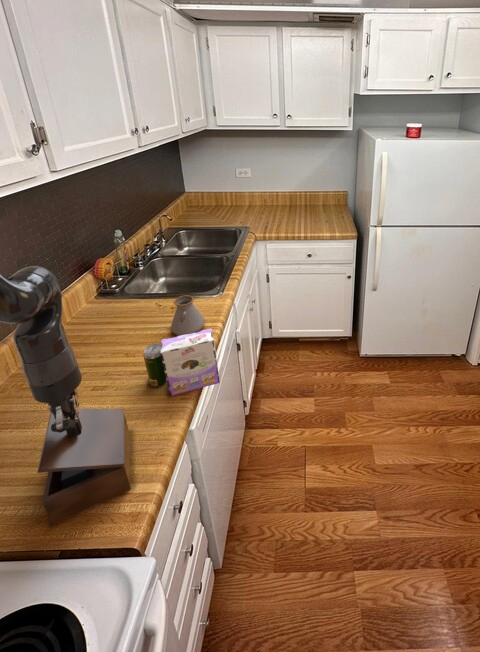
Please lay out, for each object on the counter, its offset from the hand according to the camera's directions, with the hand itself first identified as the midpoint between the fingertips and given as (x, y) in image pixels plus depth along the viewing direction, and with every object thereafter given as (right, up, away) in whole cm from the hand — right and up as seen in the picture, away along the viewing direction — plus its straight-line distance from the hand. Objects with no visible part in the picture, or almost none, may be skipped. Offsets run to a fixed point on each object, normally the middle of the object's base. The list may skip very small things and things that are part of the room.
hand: (75, 433), depth 69 cm
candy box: (+14, -4, +29) cm, 33 cm away
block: (-2, -13, +4) cm, 13 cm away
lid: (+1, -2, +1) cm, 3 cm away
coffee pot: (+5, +4, +48) cm, 48 cm away
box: (+1, -13, +5) cm, 14 cm away
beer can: (+3, -3, +30) cm, 31 cm away
